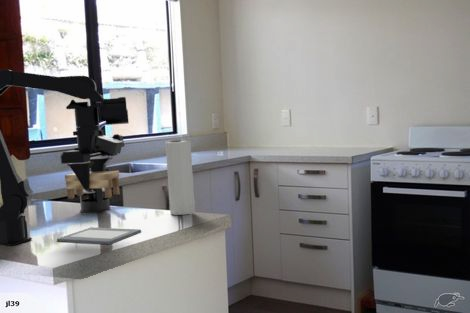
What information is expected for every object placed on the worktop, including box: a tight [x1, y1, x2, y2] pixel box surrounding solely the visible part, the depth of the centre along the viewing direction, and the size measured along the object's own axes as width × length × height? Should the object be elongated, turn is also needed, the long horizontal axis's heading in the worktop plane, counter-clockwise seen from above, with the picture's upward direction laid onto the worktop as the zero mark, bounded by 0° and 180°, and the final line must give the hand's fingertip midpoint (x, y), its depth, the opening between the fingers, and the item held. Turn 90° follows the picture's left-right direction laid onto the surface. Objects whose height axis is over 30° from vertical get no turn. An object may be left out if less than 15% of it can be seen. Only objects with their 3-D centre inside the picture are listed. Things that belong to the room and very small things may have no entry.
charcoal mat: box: [56, 226, 142, 245], centre depth 148 cm, size 13×16×1 cm
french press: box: [79, 158, 111, 213], centre depth 187 cm, size 12×9×23 cm
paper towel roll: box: [164, 140, 196, 216], centre depth 171 cm, size 7×6×21 cm
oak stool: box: [64, 170, 121, 200], centre depth 149 cm, size 12×6×6 cm, turn 75°
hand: (93, 187), depth 149 cm, fingers closed on oak stool, 6 cm apart
